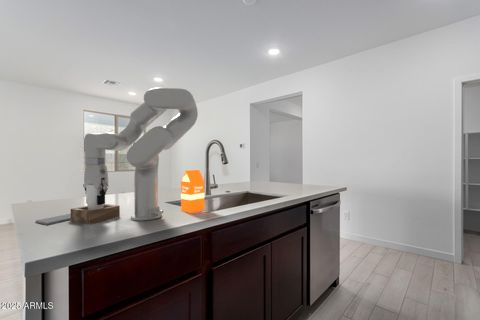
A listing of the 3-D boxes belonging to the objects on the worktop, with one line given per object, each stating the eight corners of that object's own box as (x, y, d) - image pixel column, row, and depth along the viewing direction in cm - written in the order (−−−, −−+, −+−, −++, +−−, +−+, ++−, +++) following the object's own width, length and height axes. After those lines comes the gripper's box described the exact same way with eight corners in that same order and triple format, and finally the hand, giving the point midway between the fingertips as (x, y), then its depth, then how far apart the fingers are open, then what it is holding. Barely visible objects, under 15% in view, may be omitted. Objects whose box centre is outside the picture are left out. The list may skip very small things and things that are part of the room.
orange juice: (180, 210, 115) (180, 170, 115) (195, 207, 121) (194, 169, 121) (190, 212, 110) (190, 170, 109) (204, 209, 116) (204, 170, 116)
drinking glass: (96, 221, 96) (95, 185, 96) (82, 220, 97) (82, 184, 97) (108, 217, 102) (108, 183, 102) (95, 216, 104) (95, 183, 104)
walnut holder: (119, 216, 103) (119, 205, 103) (89, 224, 91) (89, 211, 91) (101, 214, 108) (100, 203, 108) (70, 220, 97) (70, 208, 97)
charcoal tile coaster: (84, 216, 103) (84, 215, 103) (47, 225, 91) (47, 223, 91) (72, 214, 107) (72, 213, 107) (35, 222, 94) (35, 220, 94)
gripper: (116, 162, 99) (117, 203, 99) (91, 162, 107) (92, 200, 107) (99, 162, 92) (100, 207, 93) (74, 162, 100) (74, 203, 100)
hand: (95, 203), depth 100 cm, fingers closed on drinking glass, 6 cm apart
